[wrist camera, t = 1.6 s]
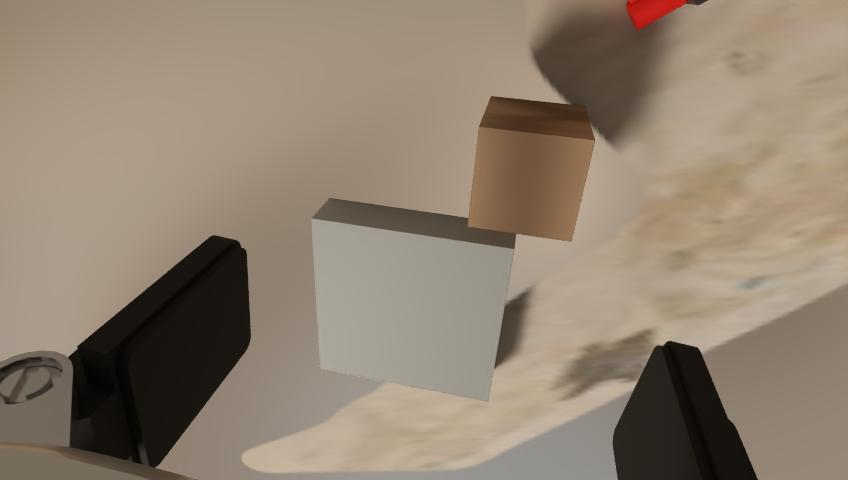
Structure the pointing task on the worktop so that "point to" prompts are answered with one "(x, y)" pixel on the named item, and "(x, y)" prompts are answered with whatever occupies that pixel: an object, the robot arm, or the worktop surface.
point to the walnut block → (530, 167)
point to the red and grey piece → (653, 10)
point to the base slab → (409, 296)
